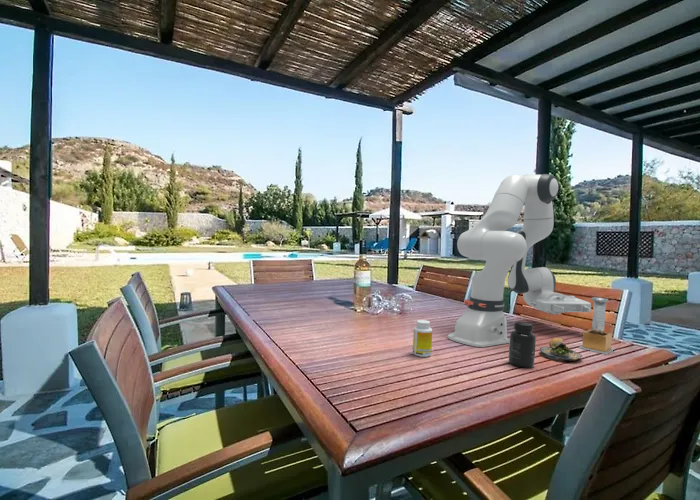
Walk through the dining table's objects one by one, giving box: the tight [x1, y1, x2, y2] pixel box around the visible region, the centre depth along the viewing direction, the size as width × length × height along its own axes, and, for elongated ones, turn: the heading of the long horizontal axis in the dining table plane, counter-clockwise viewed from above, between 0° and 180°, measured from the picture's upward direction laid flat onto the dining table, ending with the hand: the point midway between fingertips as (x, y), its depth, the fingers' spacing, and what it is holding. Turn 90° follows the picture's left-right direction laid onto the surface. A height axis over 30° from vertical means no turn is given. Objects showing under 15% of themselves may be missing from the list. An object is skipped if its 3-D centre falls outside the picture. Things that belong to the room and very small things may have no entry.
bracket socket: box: [578, 328, 615, 355], centre depth 127 cm, size 8×8×6 cm
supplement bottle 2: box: [508, 321, 537, 369], centre depth 108 cm, size 7×7×12 cm
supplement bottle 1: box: [412, 319, 433, 358], centre depth 114 cm, size 6×6×10 cm
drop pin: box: [591, 296, 609, 336], centre depth 127 cm, size 5×5×17 cm
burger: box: [538, 335, 583, 363], centre depth 117 cm, size 12×12×8 cm
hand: (576, 310), depth 137 cm, fingers open, 8 cm apart
